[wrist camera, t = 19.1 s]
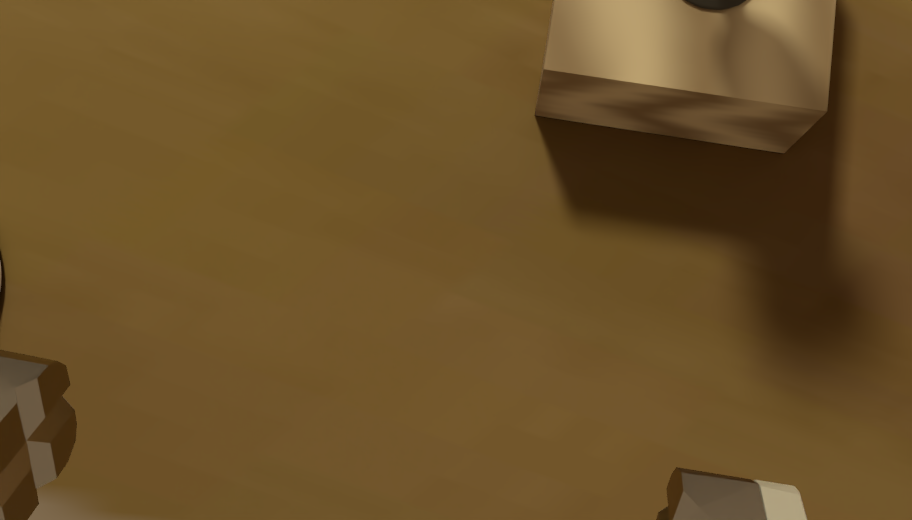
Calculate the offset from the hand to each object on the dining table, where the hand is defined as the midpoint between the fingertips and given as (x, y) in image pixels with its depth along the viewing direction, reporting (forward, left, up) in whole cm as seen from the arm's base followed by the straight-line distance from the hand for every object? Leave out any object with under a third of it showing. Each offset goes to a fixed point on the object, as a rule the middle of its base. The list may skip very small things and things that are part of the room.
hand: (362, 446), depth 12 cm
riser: (+9, +26, -34) cm, 44 cm away
